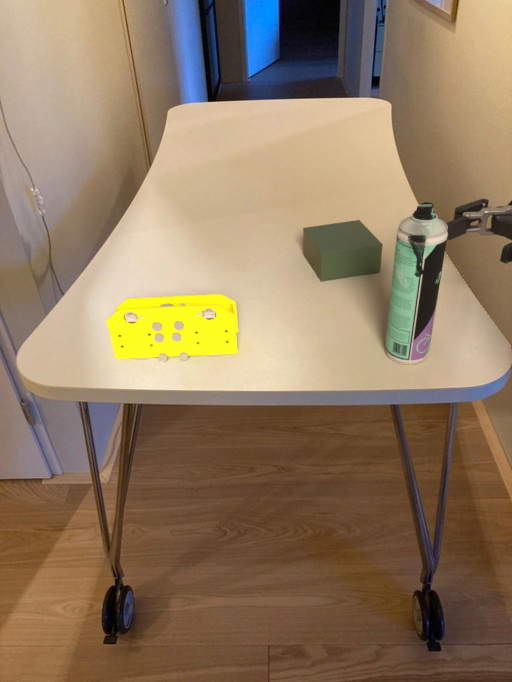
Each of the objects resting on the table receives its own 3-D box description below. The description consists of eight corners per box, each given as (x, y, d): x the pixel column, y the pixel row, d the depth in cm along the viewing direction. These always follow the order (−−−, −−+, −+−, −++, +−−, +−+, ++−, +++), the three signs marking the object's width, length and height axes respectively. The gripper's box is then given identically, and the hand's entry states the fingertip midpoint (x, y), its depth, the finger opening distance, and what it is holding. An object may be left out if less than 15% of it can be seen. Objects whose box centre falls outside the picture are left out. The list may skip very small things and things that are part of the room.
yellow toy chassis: (116, 366, 72) (102, 312, 67) (124, 340, 77) (112, 289, 72) (238, 360, 72) (233, 306, 67) (239, 335, 76) (234, 283, 71)
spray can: (432, 364, 69) (458, 213, 57) (388, 365, 69) (405, 215, 57) (422, 339, 73) (444, 194, 62) (381, 340, 73) (395, 196, 62)
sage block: (380, 272, 89) (382, 244, 86) (321, 281, 87) (321, 253, 84) (357, 246, 97) (359, 219, 94) (303, 254, 95) (303, 227, 92)
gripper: (511, 170, 78) (433, 198, 71) (611, 197, 68) (533, 234, 61) (500, 219, 83) (425, 251, 76) (593, 252, 73) (518, 292, 66)
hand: (474, 243), depth 69 cm, fingers open, 8 cm apart
